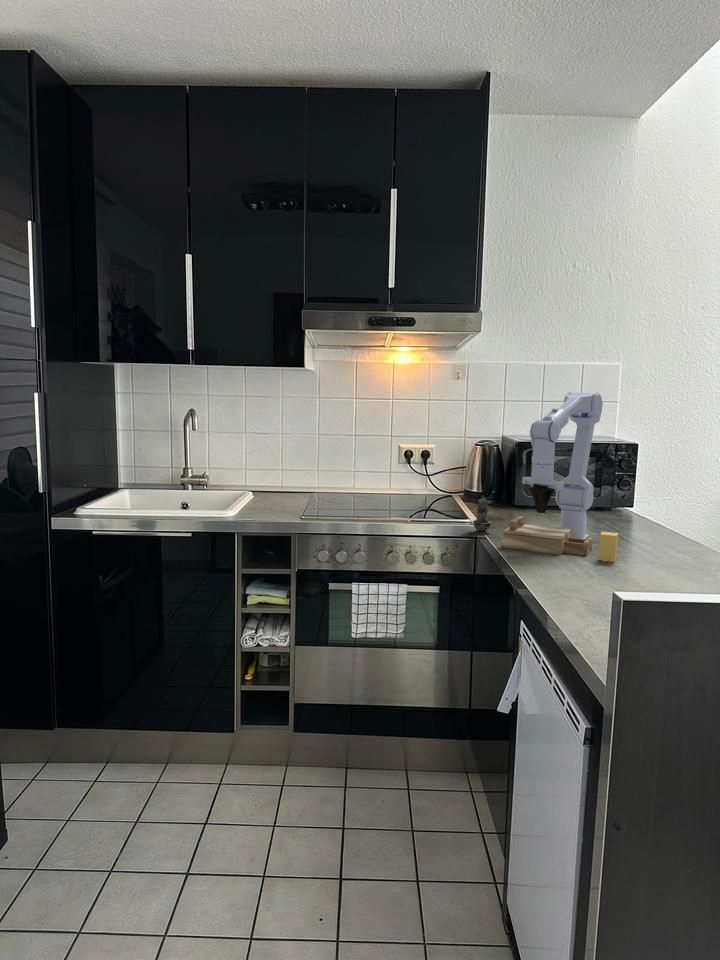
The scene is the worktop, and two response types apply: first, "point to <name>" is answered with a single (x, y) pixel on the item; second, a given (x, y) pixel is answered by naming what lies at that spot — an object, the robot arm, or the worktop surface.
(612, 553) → the yellow block
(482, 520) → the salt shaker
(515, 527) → the lid
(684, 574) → the worktop surface
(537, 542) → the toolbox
